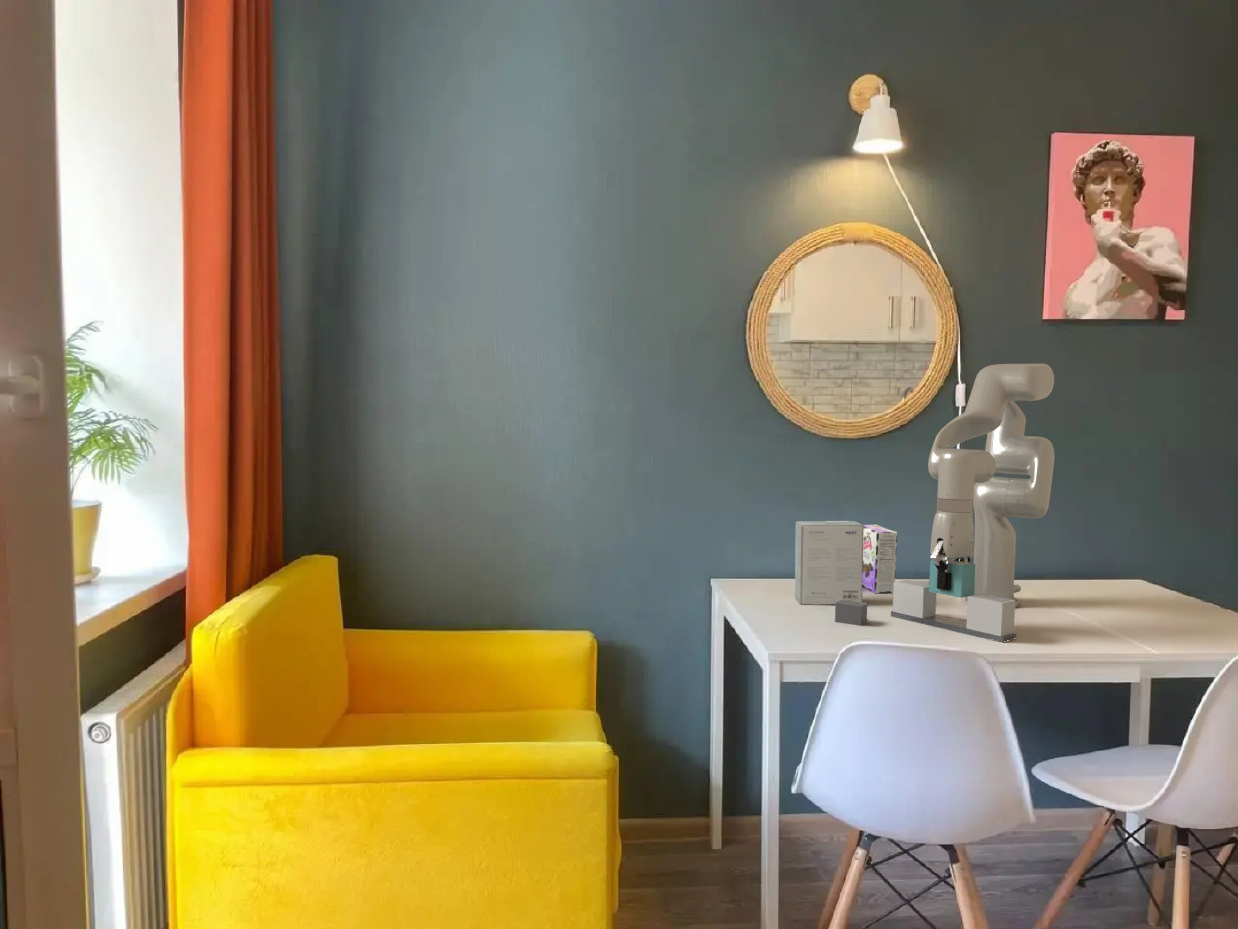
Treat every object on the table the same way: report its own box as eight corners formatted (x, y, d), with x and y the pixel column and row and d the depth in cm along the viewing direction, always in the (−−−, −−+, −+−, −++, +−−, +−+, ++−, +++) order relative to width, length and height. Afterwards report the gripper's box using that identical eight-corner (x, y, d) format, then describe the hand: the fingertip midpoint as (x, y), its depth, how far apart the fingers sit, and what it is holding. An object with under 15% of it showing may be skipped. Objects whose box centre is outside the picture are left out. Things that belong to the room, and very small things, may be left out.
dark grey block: (841, 619, 210) (841, 599, 210) (866, 622, 207) (867, 603, 206) (834, 622, 207) (835, 602, 206) (860, 626, 203) (861, 606, 203)
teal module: (942, 589, 207) (943, 558, 207) (974, 595, 201) (975, 563, 200) (928, 591, 204) (930, 560, 204) (961, 597, 198) (962, 565, 197)
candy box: (855, 583, 251) (857, 524, 250) (875, 583, 252) (877, 524, 251) (874, 594, 238) (876, 531, 237) (896, 593, 238) (898, 531, 237)
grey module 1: (892, 611, 212) (893, 581, 212) (905, 608, 215) (906, 579, 215) (922, 618, 206) (923, 587, 206) (935, 615, 209) (936, 584, 208)
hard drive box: (854, 599, 231) (857, 520, 230) (862, 605, 224) (865, 525, 222) (793, 598, 231) (795, 520, 230) (799, 605, 224) (801, 524, 222)
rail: (890, 616, 213) (890, 611, 213) (903, 613, 216) (904, 608, 216) (1002, 642, 191) (1003, 636, 190) (1015, 639, 194) (1016, 633, 193)
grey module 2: (966, 628, 197) (967, 596, 197) (979, 625, 200) (980, 593, 200) (1000, 636, 191) (1002, 602, 190) (1013, 633, 194) (1015, 600, 193)
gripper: (961, 503, 209) (958, 582, 210) (917, 507, 199) (913, 589, 200) (992, 506, 203) (988, 587, 204) (947, 510, 193) (943, 595, 194)
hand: (951, 587), depth 202 cm, fingers closed on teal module, 5 cm apart
